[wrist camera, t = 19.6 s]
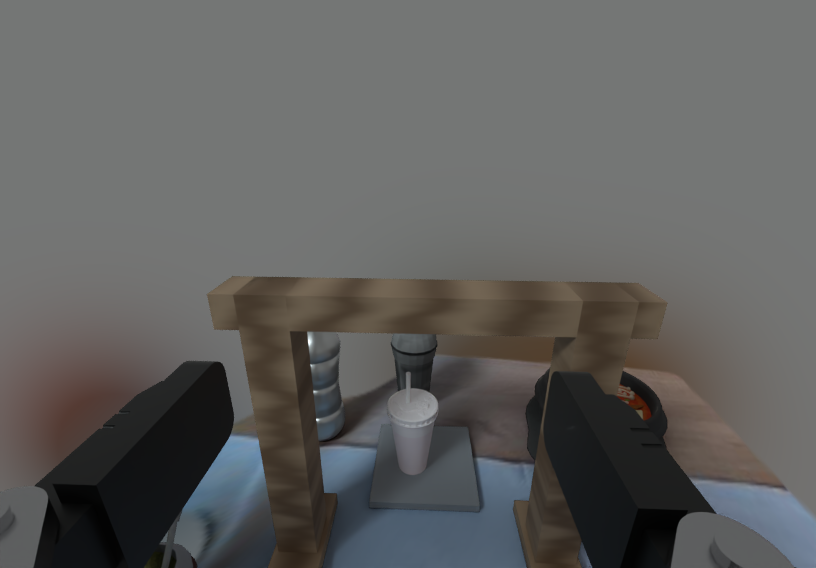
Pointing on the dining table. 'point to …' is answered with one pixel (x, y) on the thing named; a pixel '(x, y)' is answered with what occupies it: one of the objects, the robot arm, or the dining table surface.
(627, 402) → the casserole
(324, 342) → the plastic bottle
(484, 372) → the dining table surface
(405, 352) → the beverage cup
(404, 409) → the smoothie
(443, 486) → the mat
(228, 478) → the dining table surface
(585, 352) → the archway
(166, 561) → the mate gourd
